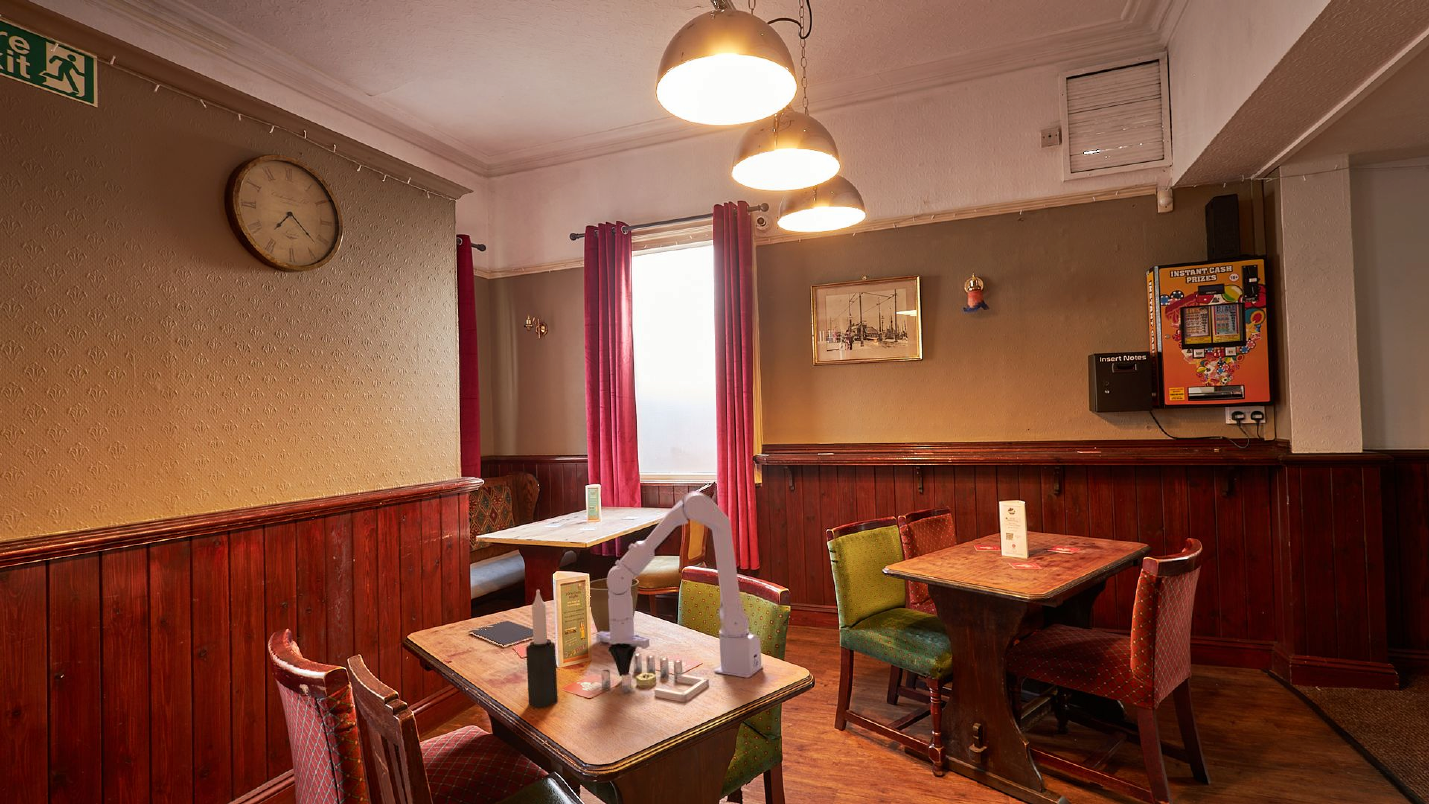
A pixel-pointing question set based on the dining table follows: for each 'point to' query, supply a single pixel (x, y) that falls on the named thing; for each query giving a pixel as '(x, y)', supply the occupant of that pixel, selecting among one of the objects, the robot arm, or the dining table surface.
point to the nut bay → (683, 697)
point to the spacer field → (638, 668)
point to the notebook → (505, 632)
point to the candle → (541, 660)
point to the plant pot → (605, 603)
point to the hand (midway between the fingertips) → (624, 674)
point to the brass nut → (646, 680)
